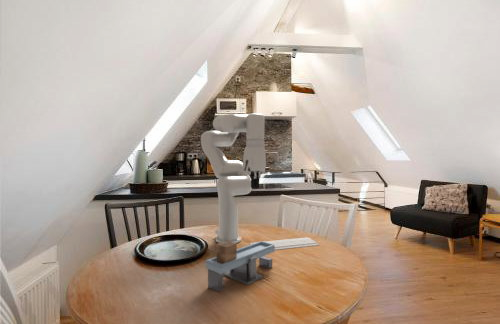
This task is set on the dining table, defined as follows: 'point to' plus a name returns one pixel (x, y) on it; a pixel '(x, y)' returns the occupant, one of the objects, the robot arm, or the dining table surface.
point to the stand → (239, 273)
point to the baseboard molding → (292, 243)
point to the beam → (241, 257)
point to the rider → (226, 252)
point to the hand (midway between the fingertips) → (255, 187)
